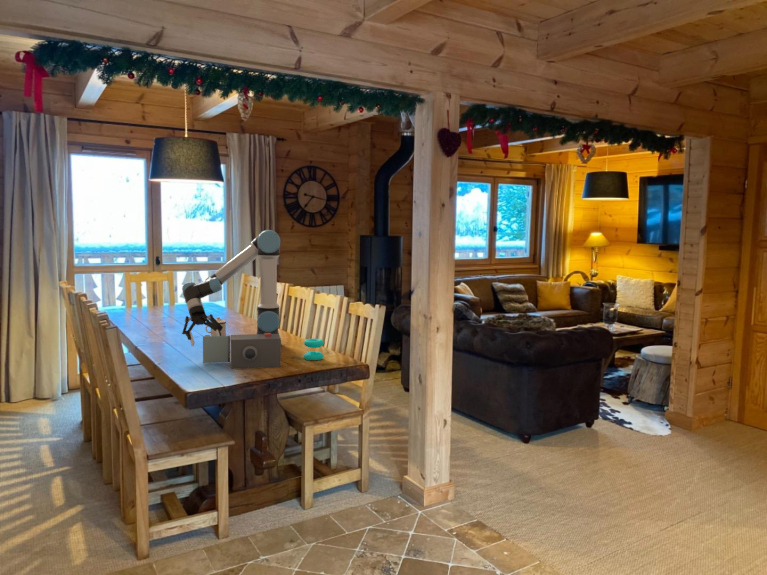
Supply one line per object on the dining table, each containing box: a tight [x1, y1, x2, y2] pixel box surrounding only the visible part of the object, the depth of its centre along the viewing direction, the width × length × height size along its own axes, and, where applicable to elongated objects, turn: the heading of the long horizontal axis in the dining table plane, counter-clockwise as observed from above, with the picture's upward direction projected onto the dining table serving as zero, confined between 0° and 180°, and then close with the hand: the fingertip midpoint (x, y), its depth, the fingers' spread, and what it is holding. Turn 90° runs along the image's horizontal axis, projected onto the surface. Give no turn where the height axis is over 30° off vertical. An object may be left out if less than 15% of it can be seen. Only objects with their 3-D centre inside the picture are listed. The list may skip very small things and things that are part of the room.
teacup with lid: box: [205, 316, 227, 336], centre depth 362 cm, size 12×9×12 cm
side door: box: [202, 334, 231, 364], centre depth 300 cm, size 13×7×13 cm, turn 105°
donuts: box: [303, 338, 325, 361], centre depth 312 cm, size 10×10×10 cm
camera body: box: [230, 333, 282, 370], centre depth 295 cm, size 14×23×15 cm, turn 106°
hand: (206, 343), depth 304 cm, fingers open, 13 cm apart
